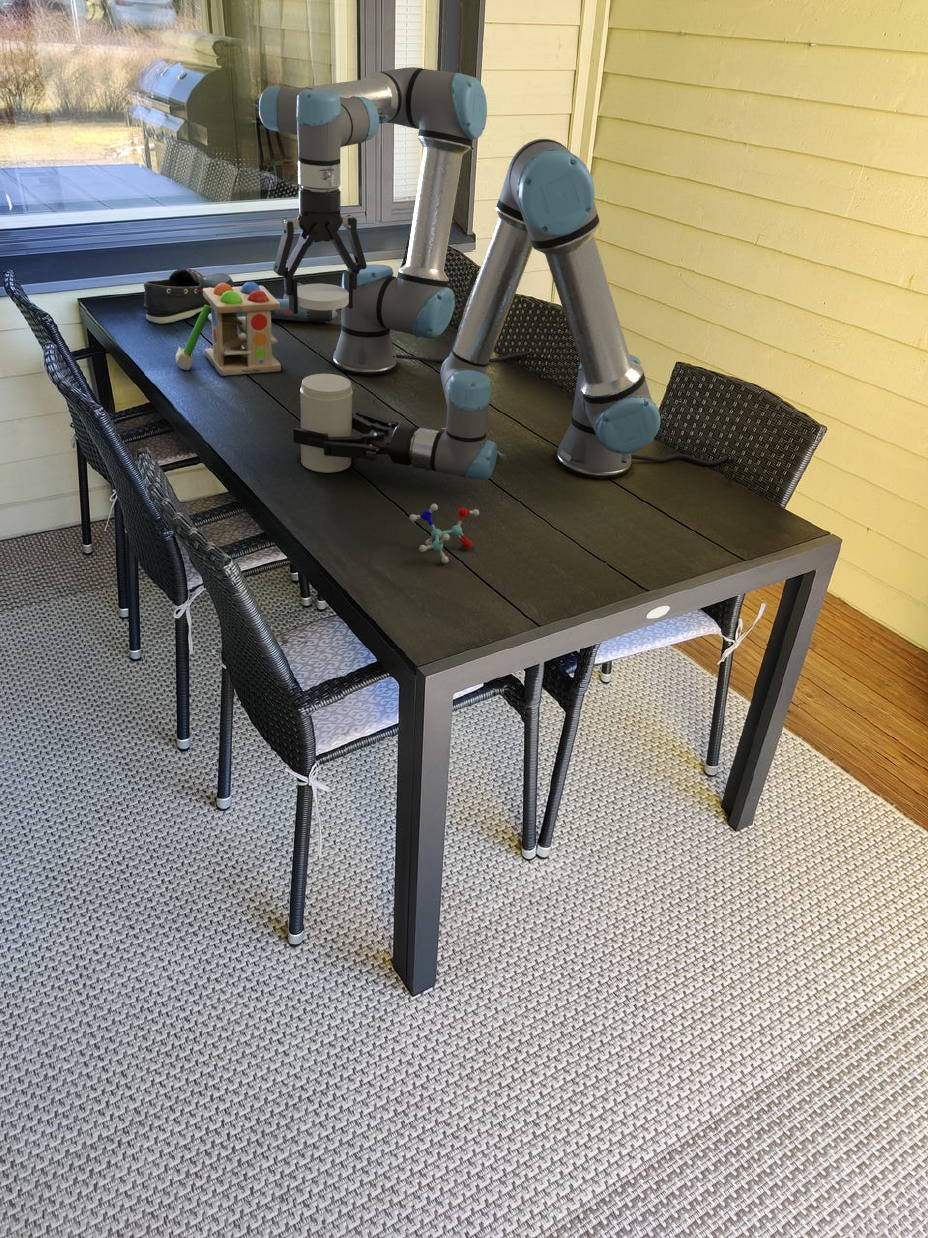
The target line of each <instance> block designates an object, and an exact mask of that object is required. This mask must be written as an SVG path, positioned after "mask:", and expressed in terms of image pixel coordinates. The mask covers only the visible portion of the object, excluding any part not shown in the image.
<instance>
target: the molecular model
mask: <svg viewBox="0 0 928 1238" xmlns="http://www.w3.org/2000/svg"><path fill="white" fill-rule="evenodd" d="M438 508H439V506H438V505H437V504H436V503H432V504H431V505H430V508H429V510H427V509H426V510H424V511H423V512H421V514H417V515H416V514H414V513H412V514H410V515H409V517H408V518H409V521H410V522H416V521H417V520H420V519H423V520H424V521H426V522H427V523H428V524H429V527H430V529H431V530H432V531H431V534H430V535H431V536H430V538H427V539H426V540H425V541H424V544H421V545H419V546H418V550H419V552H421V553H425V552H426V551H428V550H433V551H435V552H438V553H439V555H440V557H441V560H440V561H441V563H443V564H448V563H449V562H450V561H449V557H448V556H446V555H445V552H444V551H443V548H444V542H448V541H450V537H451V536H450V534H452V535H453V536H454V537H457V538H458V540H459V542H461V544H462V548H464V549H465V550H468V549H470V548H471V547H472V545H473V543H472V541H471V540H470V539H467V537H466V536H465V534H464V533H463V529H462V527H461V525H462V522H463V519H464V518H465V517H467V515H472V516H473V517H478V516H479V515H480V511H479V509H478V508H475V509H473V510H468V509H467V508H465V507H460V508H459V509H458V510H457V511H458V513H457V514H458V515H459V517H458V520H457V523H456V525H453V526H452V527H451V529H448V530H443V531H441V529H439V528H436V526H435V525H434V523H433V521H432V517H433V515H432V513H433V512H437V510H438Z"/></svg>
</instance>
